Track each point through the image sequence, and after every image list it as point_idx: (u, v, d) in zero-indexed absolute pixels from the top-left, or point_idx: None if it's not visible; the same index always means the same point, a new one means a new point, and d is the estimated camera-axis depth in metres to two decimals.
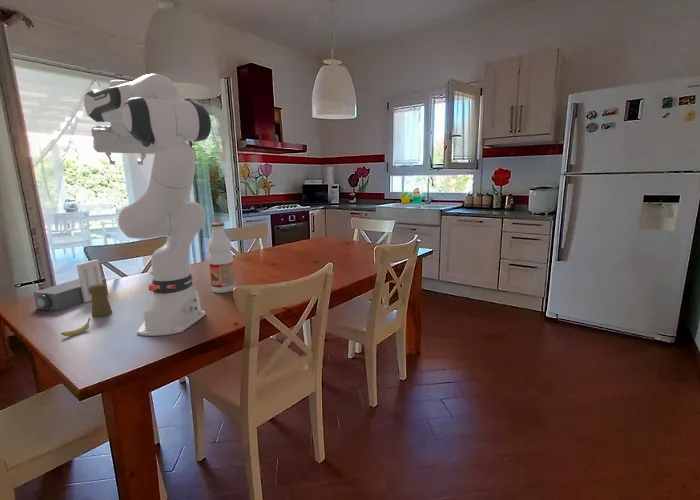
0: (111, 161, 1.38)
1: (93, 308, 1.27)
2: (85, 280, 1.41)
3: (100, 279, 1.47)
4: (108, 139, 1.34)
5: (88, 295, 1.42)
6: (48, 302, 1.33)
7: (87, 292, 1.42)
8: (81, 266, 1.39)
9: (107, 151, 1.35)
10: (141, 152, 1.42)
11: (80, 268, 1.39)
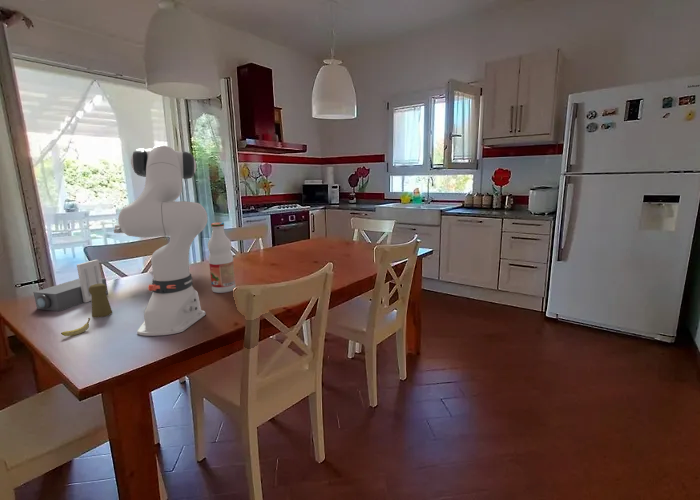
0: (116, 228, 1.59)
1: (93, 308, 1.27)
2: (85, 280, 1.41)
3: (100, 279, 1.47)
4: None
5: (88, 295, 1.42)
6: (48, 302, 1.33)
7: (87, 292, 1.42)
8: (81, 266, 1.39)
9: None
10: None
11: (80, 268, 1.39)
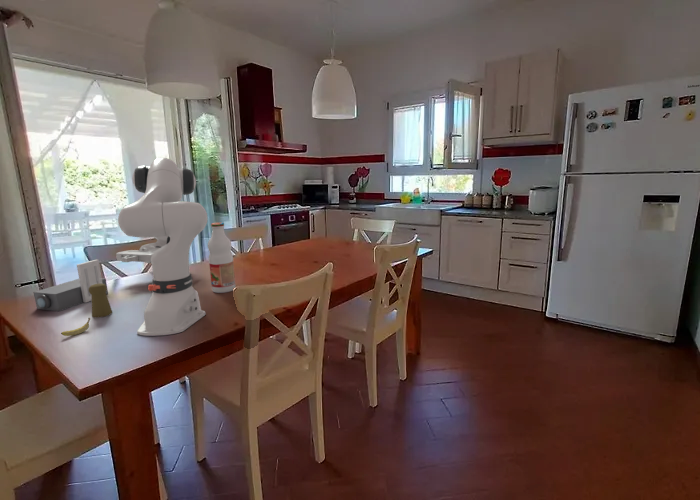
0: (124, 257, 1.59)
1: (93, 308, 1.27)
2: (85, 280, 1.41)
3: (100, 279, 1.47)
4: (131, 251, 1.67)
5: (88, 295, 1.42)
6: (48, 302, 1.33)
7: (87, 292, 1.42)
8: (81, 266, 1.39)
9: (122, 253, 1.63)
10: (142, 254, 1.60)
11: (80, 268, 1.39)
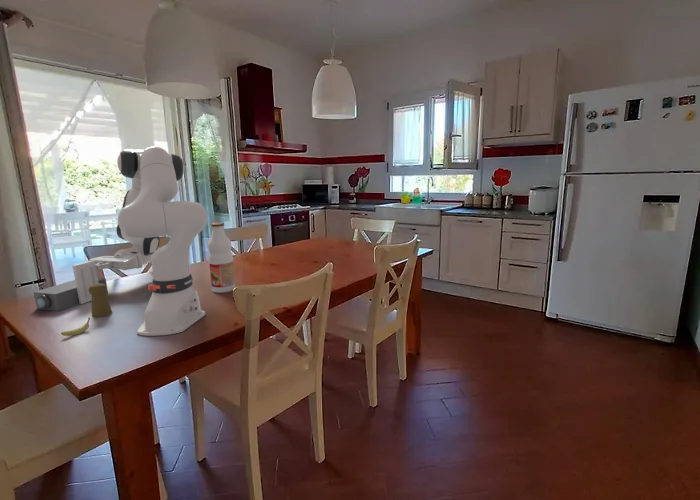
0: (96, 264, 1.46)
1: (93, 308, 1.27)
2: (81, 281, 1.40)
3: (96, 280, 1.46)
4: (105, 257, 1.55)
5: (84, 296, 1.41)
6: (48, 302, 1.33)
7: (83, 293, 1.41)
8: (77, 267, 1.38)
9: (94, 259, 1.51)
10: (116, 260, 1.48)
11: (76, 269, 1.37)
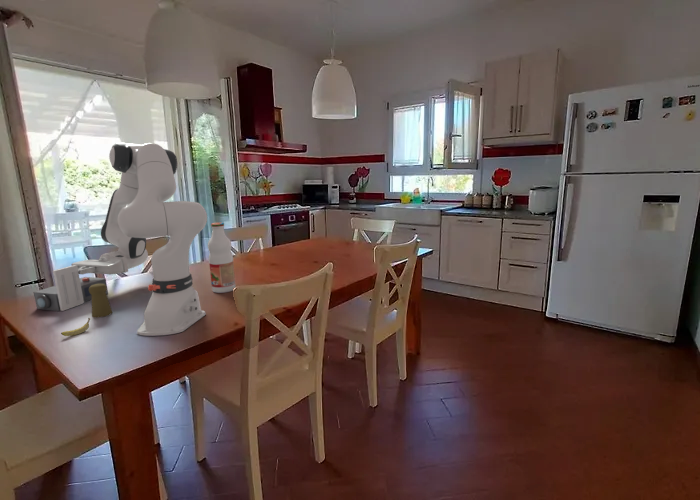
0: (78, 269, 1.40)
1: (93, 308, 1.27)
2: (63, 287, 1.33)
3: (79, 286, 1.39)
4: (89, 261, 1.49)
5: (65, 303, 1.34)
6: (48, 302, 1.33)
7: (64, 300, 1.34)
8: (57, 272, 1.31)
9: (77, 263, 1.45)
10: (99, 265, 1.42)
11: (56, 274, 1.31)
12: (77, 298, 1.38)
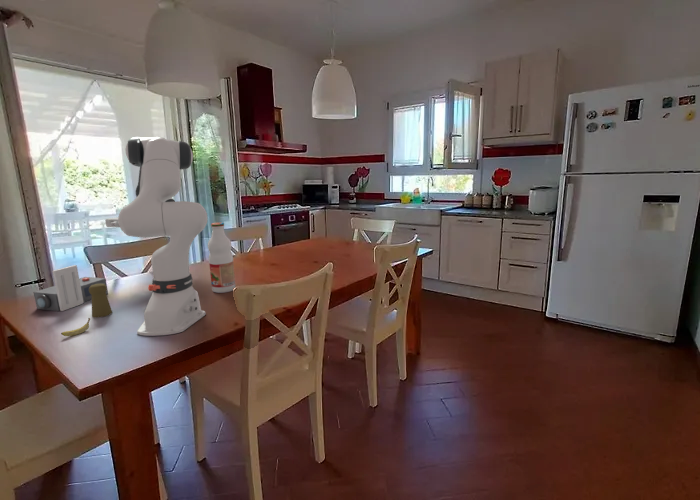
0: (113, 222, 1.53)
1: (93, 308, 1.27)
2: (62, 287, 1.33)
3: (79, 286, 1.39)
4: None
5: (65, 303, 1.34)
6: (48, 302, 1.33)
7: (64, 300, 1.34)
8: (57, 272, 1.31)
9: (111, 219, 1.58)
10: None
11: (56, 274, 1.31)
12: (77, 298, 1.38)
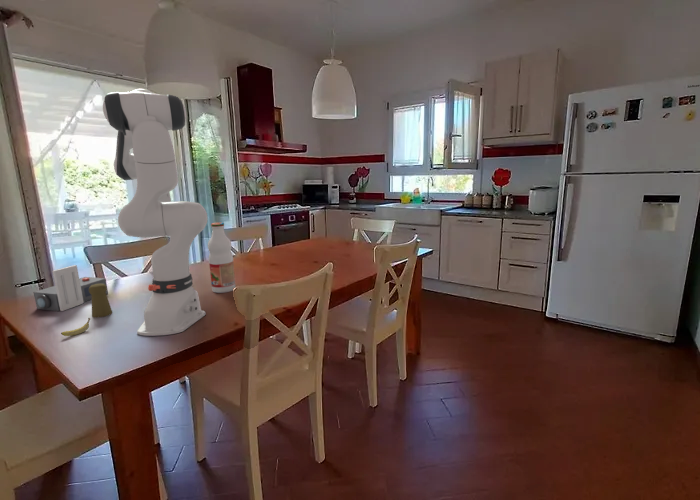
0: None
1: (93, 308, 1.27)
2: (62, 287, 1.33)
3: (79, 286, 1.39)
4: None
5: (65, 303, 1.34)
6: (48, 302, 1.33)
7: (64, 300, 1.34)
8: (57, 272, 1.31)
9: None
10: None
11: (56, 274, 1.31)
12: (77, 298, 1.38)
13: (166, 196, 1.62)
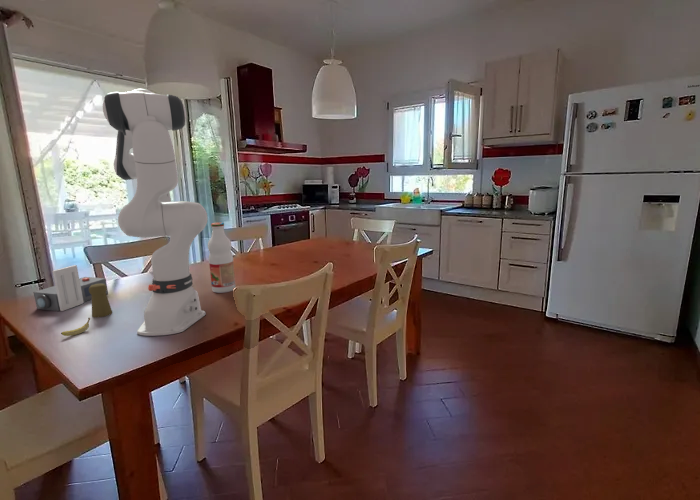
0: None
1: (93, 308, 1.27)
2: (62, 287, 1.33)
3: (79, 286, 1.39)
4: None
5: (65, 303, 1.34)
6: (48, 302, 1.33)
7: (64, 300, 1.34)
8: (57, 272, 1.31)
9: None
10: None
11: (56, 274, 1.31)
12: (77, 298, 1.38)
13: (166, 196, 1.62)
